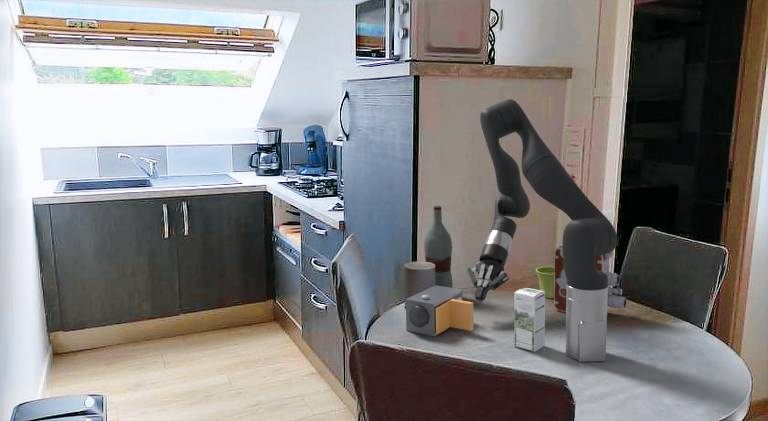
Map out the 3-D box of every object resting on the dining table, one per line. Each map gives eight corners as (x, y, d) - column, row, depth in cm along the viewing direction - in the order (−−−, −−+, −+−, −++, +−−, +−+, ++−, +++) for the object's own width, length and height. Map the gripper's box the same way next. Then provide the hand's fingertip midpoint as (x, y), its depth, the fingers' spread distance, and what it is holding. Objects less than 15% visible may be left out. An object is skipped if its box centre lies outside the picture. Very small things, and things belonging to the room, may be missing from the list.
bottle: (419, 296, 188) (417, 207, 184) (435, 290, 195) (433, 203, 191) (442, 301, 182) (441, 209, 178) (458, 294, 189) (457, 205, 185)
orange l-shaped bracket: (450, 324, 158) (450, 298, 157) (473, 329, 154) (473, 302, 152) (436, 333, 151) (435, 306, 150) (459, 338, 147) (459, 310, 146)
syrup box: (545, 345, 143) (546, 290, 141) (533, 353, 139) (534, 295, 137) (525, 340, 147) (525, 286, 145) (513, 347, 143) (513, 291, 141)
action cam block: (435, 314, 170) (435, 282, 168) (463, 319, 164) (462, 286, 163) (404, 331, 156) (403, 297, 154) (433, 338, 151) (432, 302, 149)
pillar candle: (398, 308, 176) (397, 261, 174) (418, 300, 183) (417, 255, 181) (422, 315, 170) (421, 266, 167) (442, 307, 177) (441, 260, 174)
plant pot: (569, 300, 180) (569, 273, 179) (539, 300, 180) (540, 274, 179) (560, 291, 189) (561, 266, 188) (532, 292, 189) (532, 267, 188)
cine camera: (619, 323, 157) (621, 253, 155) (551, 311, 169) (552, 246, 166) (628, 314, 165) (630, 247, 162) (562, 303, 176) (563, 240, 173)
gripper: (521, 258, 167) (504, 310, 159) (480, 254, 174) (461, 303, 166) (514, 244, 162) (496, 297, 154) (472, 240, 169) (453, 290, 161)
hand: (478, 300), depth 160 cm, fingers closed
